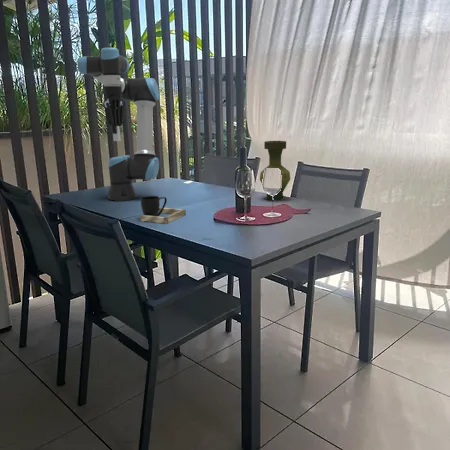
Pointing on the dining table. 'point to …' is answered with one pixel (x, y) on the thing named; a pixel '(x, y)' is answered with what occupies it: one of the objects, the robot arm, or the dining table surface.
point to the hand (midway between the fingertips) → (117, 140)
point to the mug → (152, 205)
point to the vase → (276, 164)
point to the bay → (174, 215)
